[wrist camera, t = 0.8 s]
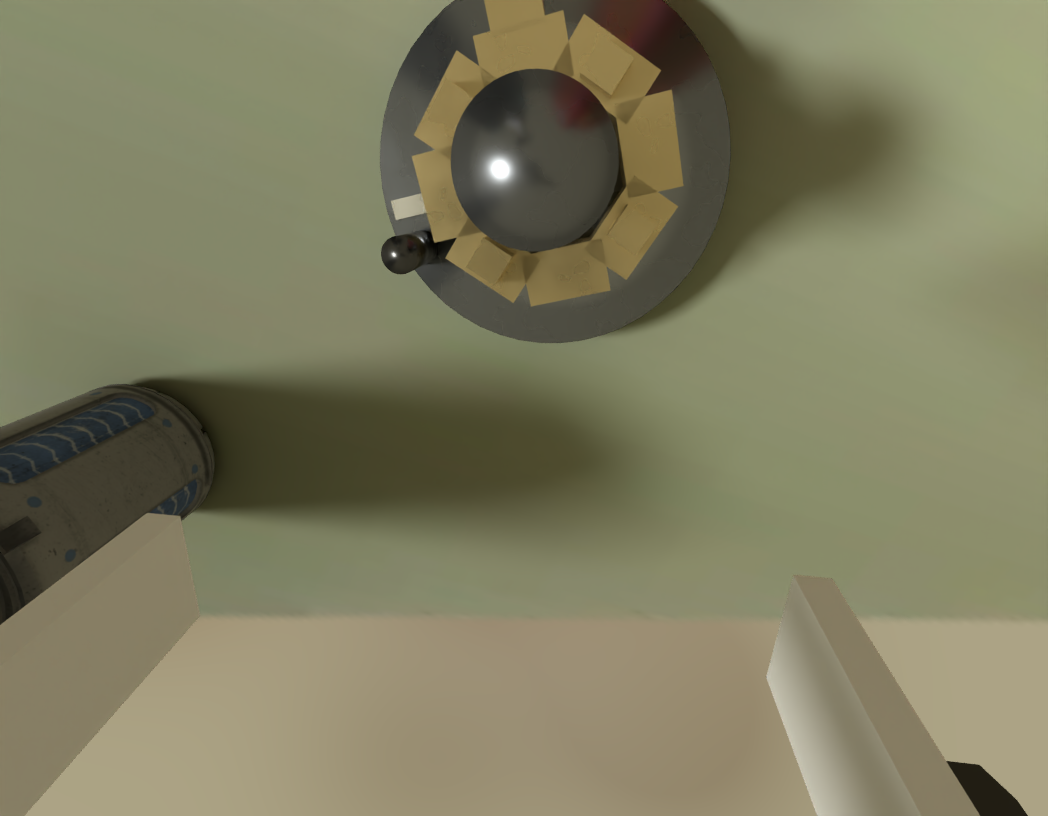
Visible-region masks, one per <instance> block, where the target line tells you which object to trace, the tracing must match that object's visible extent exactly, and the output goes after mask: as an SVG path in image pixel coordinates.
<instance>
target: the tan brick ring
mask: <svg viewBox="0 0 1048 816" xmlns="http://www.w3.org/2000/svg"><path fill="white" fill-rule="evenodd" d="M484 2H485V7H486V12H487V17H488V22H489V26H490V31H489V32H485V33H482V34H478V35H475V36H473V40H474V44H475V49H476V54H477V58H478V63H479V66H478V65H477V64H476V63H474V62H473V61H471V60H470V59H468V58H467V57H466V56H464V55H463V54H461V53H460V52H458V51H457V50H456V52H455V54H454V56H453V58H452V60H451V62H450V64H449V66H448V68H447V70H446V72H445V74H444V76H443V78H442V80H441V82H440V84H439V86H438V88H437V90H436V92H435V94H434V96H433V98H432V100H431V102H430V104H429V106H428V108H427V110H426V112H425V114H424V116H423V118H422V120H421V122H420V124H419V126H418V128H417V130H416V132H415V134H414V136H416V137H417V138H419V139H420V140H421V141H423V142H424V143H426V144H427V145H429V146H430V147H432V148H433V149H435V150H433V151H429V152H426V153H422V154H418V155H414V156H412V159H413V163H414V167H415V171H416V174H417V178H418V182H419V186H420V190H421V194H422V197H423V201H424V205H425V209H426V213H427V217H428V220H429V224H430V228H431V232H432V236H433V240H434V243H435V242H440V241H444V240H448V239H453V238H457V239H456V240H455V242H454V244H453V246H452V247H451V249H450V251H449V253H448V254H447V256H446V259H447V260H449V261H450V262H452V263H453V264H455V265H456V266H458V267H459V268H461V269H462V270H464V271H465V272H467V273H468V274H470V275H471V276H473V277H475V278H476V279H478V280H479V281H481V282H482V283H484V284H485V285H487V286H488V287H490V288H491V289H493V290H494V291H496V292H497V293H499V294H500V295H502V296H503V297H505V298H506V299H508V300H509V301H511V302H512V303H514V301H515V300H516V298H517V297H518V295H519V294H520V292H521V291H522V289H523V288H524V286H525V284H526V286H527V290H528V295H529V300H530V304H531V306H536V305H541V304H546V303H551V302H556V301H561V300H566V299H571V298H576V297H581V296H585V295H590V294H595V293H600V292H605V291H610V284H609V278H608V272H607V267H608V268H610V269H611V270H613V271H614V272H616V273H617V274H618V275H620V276H621V277H623V278H624V279H626V280H627V279H628V277H629V276H630V274H631V273H632V271H633V270H634V269H635V267H636V266H637V264H638V263H639V262H640V260H641V259H642V257H643V256H644V254H645V253H646V252H647V250H648V249H649V247H650V246H651V244H652V243H653V242H654V240H655V239H656V237H657V236H658V235H659V233H660V232H661V230H662V229H663V227H664V226H665V225H666V223H667V222H668V220H669V219H670V217H671V216H672V215H673V213H674V212H675V210H676V209H677V208H678V206H677V205H675V204H674V203H673V202H671V201H670V200H668V199H667V198H666V197H664V196H663V195H661V194H660V193H658V192H659V191H664V190H668V189H672V188H677V187H681V186H683V178H682V169H681V161H680V153H679V145H678V136H677V128H676V120H675V112H674V103H673V95H672V90H668V91H664V92H660V93H656V94H652V95H648V96H645V95H646V94H647V92H648V91H649V89H650V88H651V86H652V84H653V83H654V81H655V80H656V78H657V76H658V75H659V73H660V71H661V70H660V69H659V68H657V67H656V66H655V65H653V64H652V63H651V62H649V61H648V60H646V59H645V58H644V57H642V56H641V55H640V54H638V53H637V52H636V51H634V50H633V49H631V48H630V47H629V46H627V45H626V44H625V43H623V42H622V41H621V40H619V39H618V38H616V37H615V36H614V35H612V34H611V33H610V32H608V31H607V30H606V29H604V28H603V27H601V26H600V25H599V24H597V23H596V22H595V21H593V20H592V19H591V18H589V17H588V16H586V15H585V14H584V15H583V17H582V18H581V20H580V22H579V24H578V25H577V27H576V29H575V31H574V33H573V34H572V36H571V38H570V40H569V41H568V35H567V29H566V23H565V17H564V11H563V10H562V11H558V12H555V13H551V14H548V15H546V13H545V8H544V2H543V0H484ZM524 69H548V70H553V71H556V72H560V73H563V74H565V75H567V76H570V77H572V78H574V79H575V80H577V81H578V82H580V83H582V84H583V85H584V86H585V87H586V88H588V89H589V90H590V91H591V92H592V93H593V94H594V95H595V96H596V97H597V99H598V100H599V101H600V102H601V104H602V105H603V107H604V108H605V110H606V112H607V114H608V116H609V118H610V120H611V122H612V124H613V125H614V130H615V134H616V138H617V143H618V153H619V165H620V171H621V178H622V184H623V187H622V189H621V190H620V192H619V193H618V195H617V196H616V198H615V199H614V201H613V202H612V204H611V205H610V207H609V208H608V210H607V211H606V213H605V215H604V216H603V218H602V219H601V221H600V222H599V224H598V225H597V227H596V228H595V230H594V231H593V233H592V234H591V236H590V237H585V238H580V239H576V240H574V241H572V242H571V243H568V244H566V245H564V246H561V247H558V248H555V249H552V250H546V251H531V252H529V251H521V250H516V249H513V248H509V247H506V246H504V245H502V244H499V243H498V242H496V241H494V240H492V239H491V238H489V237H488V236H487V235H485V234H484V233H483V232H481V231H480V230H479V229H478V228H477V227H476V226H475V225H474V224H473V222H472V221H471V220H470V218H469V217H468V216H467V214H466V213H465V211H464V209H463V208H462V206H461V204H460V202H459V199H458V197H457V195H456V191H455V188H454V185H453V180H452V174H451V148H452V142H453V137H454V134H455V131H456V127H457V125H458V122H459V120H460V118H461V116H462V114H463V112H464V111H465V109H466V107H467V106H468V104H469V103H470V102H471V101H472V99H473V98H474V97H475V96H476V95H477V94H478V93H479V92H480V91H481V90H482V89H483V88H484V87H485V86H487V85H488V84H490V83H491V82H492V81H494V80H496V79H498V78H499V77H501V76H503V75H506V74H509V73H511V72H514V71H519V70H524Z"/></svg>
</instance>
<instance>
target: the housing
mask: <svg viewBox="0 0 1048 816" xmlns="http://www.w3.org/2000/svg"><path fill="white" fill-rule="evenodd" d="M543 2H544V8H545V13H546V15H548V14H551V13H555V12H558V11H562V10H563V11H564V17H565V23H566V29H567V35H568V41H569V40H570V38H571V36H572V34H573V33H574V31H575V29H576V27H577V25H578V24H579V22H580V20H581V18H582V17H583V15H584V14H585V15H586V16H588V17H589V18H591V19H592V20H593V21H595V22H596V23H597V24H599V25H600V26H601V27H603V28H604V29H606V30H607V31H608V32H610V33H611V34H612V35H614V36H615V37H616V38H618V39H619V40H621V41H622V42H623V43H625V44H626V45H627V46H629V47H630V48H631V49H633V50H634V51H636V52H637V53H638V54H640V55H641V56H642V57H644V58H645V59H646V60H648V61H649V62H651V63H652V64H653V65H655V66H656V67H657V68H659V69H660V70H661V71H660V73H659V75H658V76H657V78H656V80H655V81H654V83H653V84H652V86H651V88H650V89H649V91H648V92H647V94H646V95H645V96H648V95H652V94H656V93H660V92H664V91H668V90H672V95H673V103H674V112H675V120H676V128H677V136H678V145H679V153H680V161H681V169H682V178H683V186H681V187H677V188H672V189H668V190H664V191H659V192H658V193H660V194H661V195H663V196H664V197H666V198H667V199H668V200H670V201H671V202H673V203H674V204H675V205H677V206H678V208H677V209H676V210H675V212H674V213H673V215H672V216H671V217H670V219H669V220H668V222H667V223H666V225H665V226H664V227H663V229H662V230H661V232H660V233H659V235H658V236H657V237H656V239H655V240H654V242H653V243H652V244H651V246H650V247H649V249H648V250H647V252H646V253H645V254H644V256H643V257H642V259H641V260H640V262H639V263H638V264H637V266H636V267H635V269H634V270H633V271H632V273H631V274H630V276H629V277H628V279H627V280H626V279H624V278H623V277H621V276H620V275H618V274H617V273H616V272H614V271H613V270H611V269H610V268H608V267H607V272H608V278H609V284H610V291H605V292H600V293H595V294H590V295H585V296H581V297H576V298H571V299H566V300H561V301H556V302H551V303H546V304H541V305H536V306H531V304H530V300H529V295H528V290H527V286H526V284H525V286H524V288H523V289H522V291H521V292H520V294H519V295H518V297H517V298H516V300H515V301H514V303H512V302H511V301H509V300H508V299H506V298H505V297H503V296H502V295H500V294H499V293H497V292H496V291H494V290H493V289H491V288H490V287H488V286H487V285H485V284H484V283H482V282H481V281H479V280H478V279H476V278H475V277H473V276H471V275H470V274H468V273H467V272H465V271H464V270H462V269H461V268H459V267H458V266H456V265H455V264H453V263H452V262H450V261H449V260H447V259H446V256H447V254H448V253H449V251H450V249H451V247H452V246H453V244H454V242H455V240H456V239H457V238H453V239H448V240H444V241H440V242H435V243H434V240H433V236H432V232H431V228H430V224H429V220H428V217H427V213H426V209H425V205H424V201H423V197H422V194H421V190H420V186H419V182H418V178H417V174H416V171H415V167H414V163H413V159H412V156H414V155H418V154H422V153H426V152H429V151H433V150H435V149H433V148H432V147H430V146H429V145H427V144H426V143H424V142H423V141H421V140H420V139H419V138H417V137H416V136H414V134H415V132H416V130H417V128H418V126H419V124H420V122H421V120H422V118H423V116H424V114H425V112H426V110H427V108H428V106H429V104H430V102H431V100H432V98H433V96H434V94H435V92H436V90H437V88H438V86H439V84H440V82H441V80H442V78H443V76H444V74H445V72H446V70H447V68H448V66H449V64H450V62H451V60H452V58H453V56H454V54H455V52H456V50H457V51H458V52H460V53H461V54H463V55H464V56H466V57H467V58H468V59H470V60H471V61H473V62H474V63H476V64H477V65H478V66H479V63H478V58H477V54H476V49H475V44H474V40H473V36H475V35H478V34H482V33H485V32H489V31H490V26H489V22H488V17H487V12H486V7H485V2H484V0H454V1H453V2H452V3H451V4H449V5H448V6H447V7H445V8H444V9H443V10H442V11H441V13H440V14H439V15H438V16H437V17H436V18H435V19H434V20H433V21H432V22H431V23H430V24H429V25H428V26H427V27H426V29H425V30H424V31H423V33H422V34H421V35H420V37H419V38H418V39H417V41H416V42H415V43H414V45H413V46H412V48H411V50H410V51H409V53H408V55H407V57H406V59H405V60H404V62H403V64H402V66H401V68H400V70H399V72H398V75H397V77H396V80H395V82H394V85H393V87H392V90H391V92H390V96H389V100H388V103H387V107H386V111H385V115H384V120H383V128H382V135H381V149H380V168H381V179H382V189H383V194H384V198H385V203H386V207H387V212H388V215H389V218H390V221H391V223H392V226H393V229H394V232H395V235H396V236H394V237H391V238H389V239H388V240H387V241H386V242H385V243H384V245H383V247H382V251H381V257H382V261H383V263H384V265H385V266H386V267H387V268H388V269H389V270H390V271H391V272H393V273H396V274H406V273H408V272H410V271H413V270H415V271H416V272H417V274H418V275H419V276H420V277H421V278H422V280H423V281H424V282H425V283H426V285H427V286H428V287H429V288H430V289H431V290H432V291H433V292H434V293H435V294H436V295H437V296H438V297H439V298H440V299H441V300H442V301H443V302H444V303H445V304H446V305H448V306H449V307H450V308H452V309H453V310H455V311H456V312H457V313H459V314H460V315H461V316H463V317H464V318H466V319H468V320H470V321H471V322H473V323H475V324H477V325H478V326H480V327H482V328H485V329H487V330H490V331H492V332H495V333H497V334H500V335H503V336H507V337H510V338H514V339H518V340H523V341H531V342H538V343H565V342H573V341H581V340H585V339H589V338H593V337H597V336H601V335H604V334H606V333H609V332H612V331H614V330H617V329H619V328H622V327H624V326H625V325H627V324H629V323H631V322H633V321H635V320H636V319H638V318H640V317H642V316H643V315H644V314H646V313H647V312H649V311H650V310H651V309H653V308H654V307H656V306H657V305H658V304H660V303H661V302H662V301H663V300H664V299H665V298H666V297H667V296H668V295H669V294H670V293H671V292H673V291H674V290H675V289H676V288H677V286H678V285H679V284H680V283H681V282H682V281H683V279H684V278H685V277H686V276H687V275H688V273H689V272H690V271H691V270H692V268H693V267H694V265H695V264H696V262H697V260H698V259H699V257H700V256H701V254H702V253H703V251H704V249H705V247H706V245H707V243H708V241H709V239H710V237H711V235H712V233H713V231H714V229H715V227H716V224H717V221H718V218H719V215H720V212H721V209H722V207H723V203H724V198H725V194H726V189H727V184H728V179H729V168H730V157H731V150H730V127H729V121H728V115H727V109H726V103H725V100H724V96H723V93H722V90H721V86H720V83H719V79H718V77H717V75H716V73H715V70H714V68H713V66H712V64H711V61H710V59H709V57H708V55H707V53H706V52H705V50H704V48H703V47H702V45H701V44H700V42H699V41H698V39H697V37H696V36H695V34H694V33H693V31H692V30H691V29H690V28H689V27H688V26H687V24H686V23H685V22H684V21H683V20H682V18H681V17H680V16H679V15H678V14H677V13H676V12H675V11H674V10H673V9H672V8H671V7H669V6H668V5H667V4H666V3H665V2H664V1H663V0H543ZM451 174H452V180H453V185H454V188H455V191H456V195H457V197H458V199H459V202H460V204H461V206H462V208H463V209H464V211H465V213H466V214H467V216H468V217H469V218H470V220H471V221H472V222H473V224H474V225H475V226H476V227H477V228H478V229H479V230H480V231H481V232H483V233H484V234H485V235H487V236H488V237H489V238H491V239H492V240H494V241H496V242H498V243H499V244H502V245H504V246H506V247H509V248H513V249H516V250H521V251H529V252H531V251H546V250H552V249H555V248H558V247H561V246H564V245H566V244H568V243H571V242H572V241H574V240H576V239H580V238H585V237H590V236H591V234H592V233H593V231H594V230H595V228H596V227H597V225H598V224H599V222H600V221H601V219H602V218H603V216H604V215H605V213H606V211H607V210H608V208H609V207H610V205H611V204H612V202H613V201H614V199H615V198H616V196H617V195H618V193H619V192H620V190H621V189H622V187H623V184H622V178H621V171H620V165H619V153H618V143H617V138H616V134H615V130H614V125H613V124H612V122H611V120H610V118H609V116H608V114H607V112H606V110H605V108H604V107H603V105H602V104H601V102H600V101H599V100H598V99H597V97H596V96H595V95H594V94H593V93H592V92H591V91H590V90H589V89H588V88H586V87H585V86H584V85H583V84H582V83H580V82H578V81H577V80H575V79H574V78H572V77H570V76H567V75H565V74H563V73H560V72H556V71H553V70H548V69H524V70H519V71H514V72H511V73H509V74H506V75H503V76H501V77H499V78H498V79H496V80H494V81H492V82H491V83H490V84H488V85H487V86H485V87H484V88H483V89H482V90H481V91H480V92H479V93H478V94H477V95H476V96H475V97H474V98H473V99H472V101H471V102H470V103H469V104H468V106H467V107H466V109H465V111H464V112H463V114H462V116H461V118H460V120H459V122H458V125H457V127H456V131H455V134H454V137H453V142H452V148H451Z"/></svg>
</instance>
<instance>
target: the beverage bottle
mask: <svg viewBox="0 0 1048 816" xmlns="http://www.w3.org/2000/svg"><path fill="white" fill-rule="evenodd" d="M201 428H202V425H201V424H200V423H199V421H198V420H197V418H196V417H195V416H194V415H193V414H192V413H191V412H190V411H189V410H188V409H187V408H186V407H184V406H183V405H182V404H180V403H179V402H178V401H176V400H175V399H173V398H171V397H169V396H168V395H166V394H161V393H160V392H159V391H156V390H153V389H150V388H145V387H140V386H134V385H127V384H115V385H107V386H104V387H100V388H97V389H95V390H92V391H90V392H87V393H85V394H82V395H80V396H77V397H75V398H72V399H70V400H67V401H65V402H62V403H60V404H57V405H55V406H52V407H50V408H47V409H45V410H42V411H40V412H37V413H35V414H32V415H30V416H27V417H25V418H22V419H20V420H17V421H15V422H12V423H10V424H7V425H5V426H3V427H0V625H1V624H2V623H3V622H5V621H6V620H7V619H9V618H10V617H11V616H13V615H14V614H15V613H17V612H18V611H19V610H21V609H22V608H23V607H24V606H26V605H27V604H28V603H30V602H31V601H32V600H34V599H35V598H36V597H38V596H39V595H40V594H41V593H43V592H44V591H45V590H47V589H48V588H49V587H51V586H52V585H53V584H55V583H56V582H57V581H59V580H60V579H61V578H62V577H64V576H65V575H66V574H68V573H69V572H70V571H72V570H73V569H74V568H76V567H77V566H78V565H80V564H81V563H82V562H83V561H85V560H86V559H87V558H89V557H90V556H91V555H93V554H94V553H95V552H97V551H98V550H99V549H100V548H102V547H103V546H104V545H106V544H107V543H108V542H110V541H111V540H112V539H114V538H115V537H116V536H118V535H119V534H120V533H121V532H123V531H124V530H125V529H127V528H128V527H129V526H131V525H132V524H133V523H135V522H136V521H137V520H139V519H140V518H141V517H142V516H144V515H145V514H146V513H154V514H164V515H174V516H180V518H181V521H182V520H183V519H184V518H186V517H187V516H188V515H189V514H191V513H192V512H193V511H194V510H196V509H197V508H198V507H199V506H200V505H201V504H202V503H203V501H204V500H205V499H206V497H207V495H208V493H209V490H210V488H211V485H212V479H213V474H214V467H215V463H214V453H213V449H212V446H211V442H210V440H209V438H208V436H207V434H206V432H205V433H203V432H202V431H201Z"/></svg>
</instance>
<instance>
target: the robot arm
mask: <svg viewBox="0 0 1048 816" xmlns="http://www.w3.org/2000/svg"><path fill="white" fill-rule="evenodd" d="M199 617H200V613H199V608H198V603H197V598H196V593H195V588H194V583H193V578H192V573H191V568H190V563H189V558H188V553H187V548H186V543H185V538H184V533H183V528H182V523H181V518H180V516H174V515H164V514H154V513H146V514H145V515H144V516H142V517H141V518H140V519H139V520H137V521H136V522H135V523H133V524H132V525H131V526H129V527H128V528H127V529H125V530H124V531H123V532H121V533H120V534H119V535H118V536H116V537H115V538H114V539H112V540H111V541H110V542H108V543H107V544H106V545H104V546H103V547H102V548H100V549H99V550H98V551H97V552H95V553H94V554H93V555H91V556H90V557H89V558H87V559H86V560H85V561H83V562H82V563H81V564H80V565H78V566H77V567H76V568H74V569H73V570H72V571H70V572H69V573H68V574H66V575H65V576H64V577H62V578H61V579H60V580H59V581H57V582H56V583H55V584H53V585H52V586H51V587H49V588H48V589H47V590H45V591H44V592H43V593H41V594H40V595H39V596H38V597H36V598H35V599H34V600H32V601H31V602H30V603H28V604H27V605H26V606H24V607H23V608H22V609H21V610H19V611H18V612H17V613H15V614H14V615H13V616H11V617H10V618H9V619H7V620H6V621H5V622H3V623H2V624H1V625H0V816H24V815H25V814H26V813H27V812H28V811H29V810H30V809H31V808H32V806H33V805H34V804H35V803H36V802H37V801H38V800H39V798H40V797H41V796H42V795H43V794H44V793H45V792H46V791H47V789H48V788H49V787H50V786H51V785H52V784H53V783H54V781H55V780H56V779H57V778H58V777H59V776H60V775H61V773H62V772H63V771H64V770H65V769H66V768H67V767H68V765H69V764H70V763H71V762H72V761H73V760H74V759H75V758H76V756H77V755H78V754H79V753H80V752H81V751H82V749H83V748H84V747H85V746H86V745H87V744H88V743H89V742H90V740H91V739H92V738H93V737H94V736H95V735H96V734H97V733H98V731H99V730H100V729H101V728H102V727H103V725H105V723H106V722H107V721H108V720H109V719H110V718H111V717H112V716H113V714H114V713H115V712H116V711H117V710H118V709H119V708H120V706H121V705H122V704H123V703H124V702H125V701H126V699H127V698H128V697H129V696H130V695H131V694H132V693H133V692H134V690H135V689H136V688H137V687H138V686H139V685H140V684H141V683H142V681H143V680H144V679H145V678H146V677H147V676H148V674H149V673H150V672H151V671H152V670H153V669H154V668H155V666H157V664H158V663H159V662H160V661H161V660H162V659H163V657H164V656H165V655H166V654H167V653H168V652H169V651H170V650H171V648H172V647H173V646H174V645H175V644H176V643H177V642H178V641H179V639H180V638H181V637H182V636H183V635H184V634H185V632H186V631H187V630H188V629H189V628H190V627H191V626H192V624H193V623H194V622H195V621H196V620H197V619H198V618H199ZM766 678H767V680H768V683H769V686H770V689H771V691H772V694H773V697H774V700H775V702H776V705H777V708H778V710H779V713H780V716H781V718H782V721H783V724H784V727H785V729H786V732H787V735H788V737H789V740H790V743H791V746H792V748H793V751H794V754H795V757H796V759H797V762H798V765H799V767H800V770H801V773H802V776H803V778H804V781H805V784H806V787H807V789H808V792H809V795H810V797H811V800H812V803H813V805H814V808H815V811H816V814H817V816H1028V815H1027V814H1026V813H1025V811H1024V810H1023V808H1022V807H1021V805H1020V804H1019V802H1018V801H1017V800H1016V799H1015V798H1014V797H1013V796H1012V795H1011V794H1010V793H1009V792H1008V791H1007V790H1006V789H1004V788H1003V787H1002V786H1001V785H1000V784H999V783H998V782H997V781H996V780H995V779H994V778H993V777H992V776H991V775H989V774H988V773H987V772H986V771H985V770H984V769H983V768H982V767H981V766H980V765H976V764H967V763H958V762H950V761H946V760H945V759H944V757H943V756H942V754H941V752H940V751H939V749H938V747H937V746H936V744H935V743H934V741H933V739H932V738H931V736H930V735H929V733H928V731H927V730H926V728H925V727H924V725H923V724H922V722H921V720H920V719H919V717H918V715H917V714H916V712H915V711H914V709H913V707H912V706H911V704H910V703H909V701H908V699H907V698H906V696H905V694H904V693H903V691H902V690H901V688H900V686H899V685H898V683H897V682H896V680H895V678H894V677H893V675H892V674H891V672H890V670H889V669H888V667H887V666H886V664H885V662H884V661H883V659H882V658H881V656H880V654H879V653H878V651H877V650H876V648H875V646H874V645H873V643H872V642H871V640H870V638H869V637H868V635H867V634H866V632H865V630H864V629H863V627H862V626H861V624H860V622H859V621H858V619H857V618H856V616H855V614H854V613H853V611H852V610H851V608H850V606H849V605H848V603H847V601H846V600H845V598H844V597H843V595H842V593H841V592H840V590H839V589H838V587H837V585H836V584H835V582H834V581H833V579H832V578H822V577H812V576H801V575H793V578H792V582H791V585H790V589H789V593H788V597H787V601H786V604H785V608H784V612H783V616H782V620H781V623H780V627H779V631H778V635H777V639H776V642H775V646H774V650H773V654H772V657H771V661H770V665H769V669H768V673H767V677H766Z"/></svg>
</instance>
